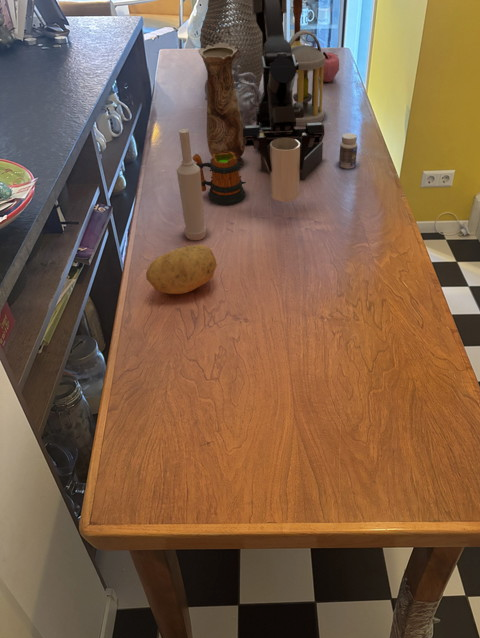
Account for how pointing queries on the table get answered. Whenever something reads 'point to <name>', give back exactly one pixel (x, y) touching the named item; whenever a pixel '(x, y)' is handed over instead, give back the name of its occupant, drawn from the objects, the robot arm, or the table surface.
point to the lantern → (308, 61)
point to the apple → (330, 67)
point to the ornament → (245, 96)
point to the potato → (182, 269)
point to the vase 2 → (222, 102)
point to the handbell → (297, 20)
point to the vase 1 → (249, 34)
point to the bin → (310, 161)
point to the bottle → (190, 191)
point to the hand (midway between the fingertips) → (285, 171)
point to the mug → (223, 178)
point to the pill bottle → (348, 151)
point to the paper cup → (285, 168)
